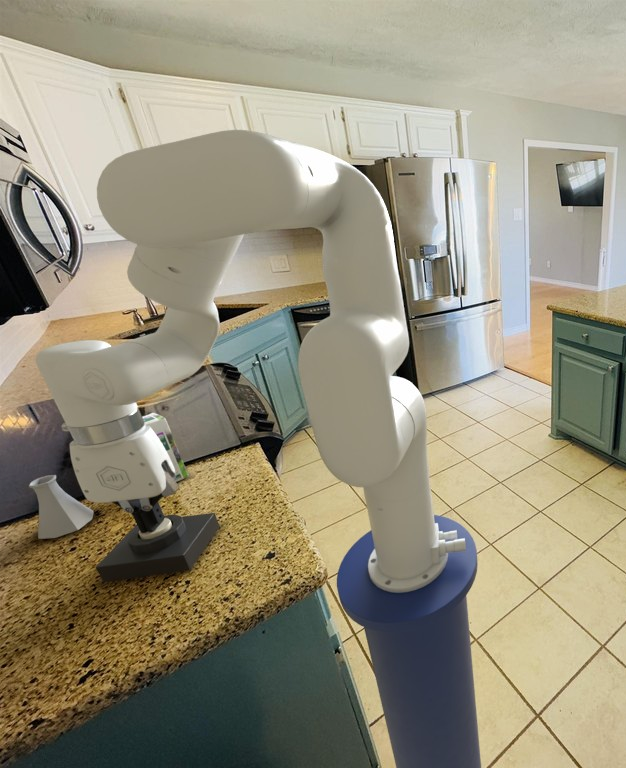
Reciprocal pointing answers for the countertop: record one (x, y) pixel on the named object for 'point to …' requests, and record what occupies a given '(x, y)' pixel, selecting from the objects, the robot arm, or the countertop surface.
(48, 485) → the flask
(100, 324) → the countertop surface
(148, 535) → the white push button
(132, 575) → the dark grey button base
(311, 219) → the robot arm
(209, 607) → the countertop surface
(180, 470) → the syrup box
